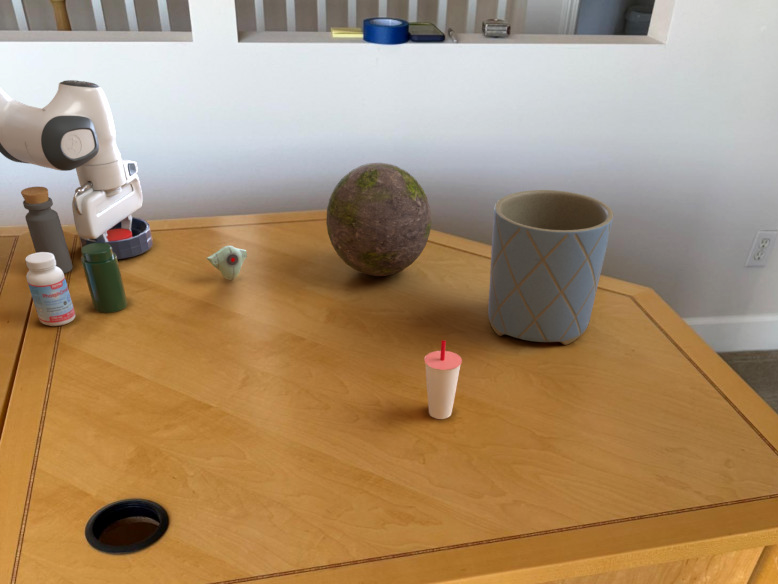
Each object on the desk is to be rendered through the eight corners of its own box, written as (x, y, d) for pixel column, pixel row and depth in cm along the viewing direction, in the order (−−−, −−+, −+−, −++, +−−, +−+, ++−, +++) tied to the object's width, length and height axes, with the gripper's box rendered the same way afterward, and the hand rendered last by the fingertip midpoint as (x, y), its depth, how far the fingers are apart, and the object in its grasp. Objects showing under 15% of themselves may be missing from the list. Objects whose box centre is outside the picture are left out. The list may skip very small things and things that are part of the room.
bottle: (79, 267, 153) (57, 189, 143) (55, 278, 150) (31, 198, 139) (59, 260, 156) (36, 183, 145) (35, 271, 152) (10, 191, 142)
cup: (431, 399, 119) (435, 328, 111) (463, 408, 117) (469, 336, 109) (416, 416, 115) (418, 343, 107) (448, 426, 113) (453, 353, 105)
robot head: (247, 272, 153) (243, 238, 148) (255, 279, 150) (251, 245, 146) (208, 280, 150) (203, 246, 145) (216, 288, 147) (211, 253, 142)
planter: (474, 341, 133) (484, 223, 119) (494, 294, 146) (505, 184, 133) (586, 357, 129) (609, 237, 116) (595, 308, 143) (617, 196, 129)
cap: (137, 237, 162) (135, 228, 161) (127, 249, 157) (125, 241, 156) (108, 236, 162) (106, 228, 161) (97, 249, 158) (94, 240, 157)
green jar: (86, 309, 140) (70, 251, 133) (107, 295, 144) (93, 239, 137) (114, 315, 138) (99, 257, 131) (134, 301, 142) (121, 244, 135)
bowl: (67, 254, 158) (62, 234, 155) (113, 230, 168) (109, 212, 165) (123, 266, 154) (118, 247, 151) (167, 242, 163) (163, 222, 161)
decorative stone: (395, 244, 164) (396, 142, 150) (449, 279, 151) (455, 171, 138) (311, 264, 156) (304, 158, 142) (360, 302, 143) (357, 190, 130)
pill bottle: (56, 330, 134) (36, 267, 126) (32, 321, 136) (12, 259, 129) (83, 317, 138) (66, 255, 130) (60, 308, 140) (42, 247, 132)
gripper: (87, 193, 143) (105, 266, 152) (141, 160, 158) (154, 228, 167) (56, 190, 144) (76, 262, 153) (113, 157, 159) (128, 225, 168)
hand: (117, 244), depth 160 cm, fingers closed on cap, 6 cm apart
